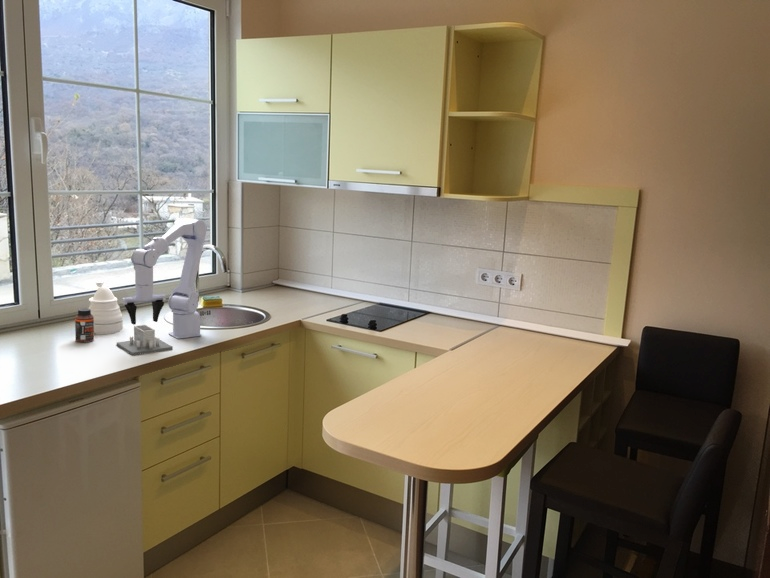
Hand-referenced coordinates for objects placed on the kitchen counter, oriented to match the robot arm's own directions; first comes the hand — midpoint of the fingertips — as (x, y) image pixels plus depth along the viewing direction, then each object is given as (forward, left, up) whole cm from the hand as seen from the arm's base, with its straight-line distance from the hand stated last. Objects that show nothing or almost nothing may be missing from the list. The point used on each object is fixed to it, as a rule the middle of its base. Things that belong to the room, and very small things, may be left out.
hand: (144, 322), depth 223 cm
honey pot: (+3, -30, -9) cm, 32 cm away
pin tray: (0, 0, -9) cm, 9 cm away
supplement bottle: (+14, -18, -9) cm, 25 cm away
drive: (0, 0, -8) cm, 8 cm away
